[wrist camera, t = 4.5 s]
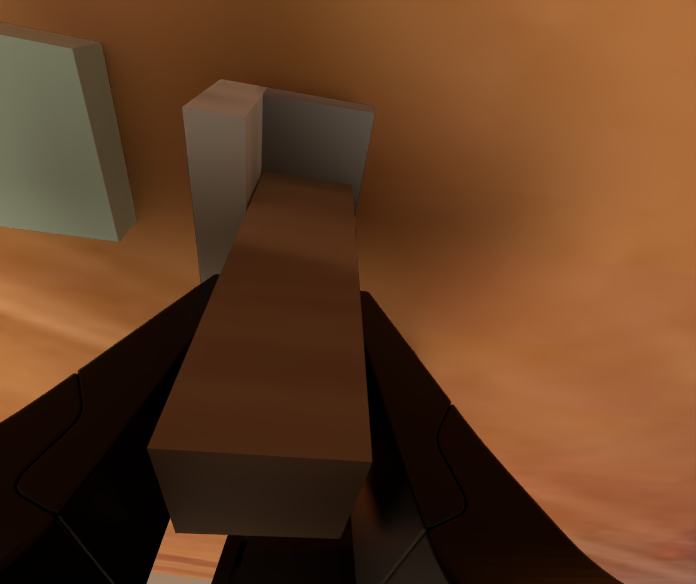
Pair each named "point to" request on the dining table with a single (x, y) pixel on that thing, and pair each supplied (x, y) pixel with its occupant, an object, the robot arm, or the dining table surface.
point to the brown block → (271, 320)
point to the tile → (60, 138)
